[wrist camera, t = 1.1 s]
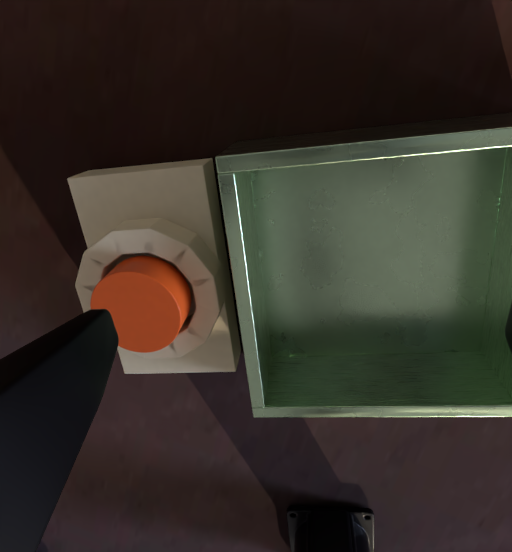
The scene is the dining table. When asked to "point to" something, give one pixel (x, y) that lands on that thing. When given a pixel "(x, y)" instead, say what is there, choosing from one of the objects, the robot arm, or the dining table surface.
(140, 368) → the control block
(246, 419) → the dining table surface
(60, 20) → the dining table surface
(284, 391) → the warming box
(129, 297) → the button
